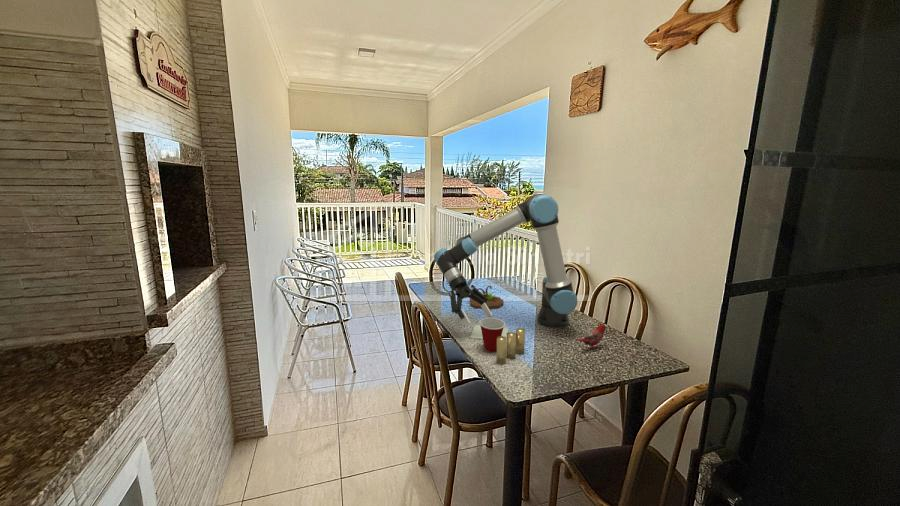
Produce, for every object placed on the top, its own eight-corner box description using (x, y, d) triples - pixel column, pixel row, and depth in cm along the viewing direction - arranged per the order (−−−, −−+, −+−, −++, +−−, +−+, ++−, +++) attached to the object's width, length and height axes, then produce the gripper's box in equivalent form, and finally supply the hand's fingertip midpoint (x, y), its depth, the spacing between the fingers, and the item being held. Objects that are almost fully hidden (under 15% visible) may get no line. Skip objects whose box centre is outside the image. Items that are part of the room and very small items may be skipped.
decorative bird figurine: (607, 346, 156) (609, 323, 154) (577, 355, 148) (578, 331, 146) (602, 343, 159) (603, 321, 157) (572, 352, 150) (573, 329, 149)
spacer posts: (526, 352, 150) (527, 329, 149) (501, 365, 140) (502, 340, 138) (519, 349, 153) (519, 327, 151) (494, 362, 143) (494, 337, 141)
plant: (505, 310, 203) (506, 290, 201) (470, 310, 204) (470, 290, 202) (501, 299, 223) (502, 281, 221) (469, 299, 223) (469, 281, 221)
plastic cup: (488, 357, 147) (488, 328, 145) (473, 347, 156) (474, 320, 154) (510, 351, 152) (510, 324, 149) (495, 342, 161) (495, 315, 159)
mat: (508, 328, 177) (508, 327, 177) (505, 341, 161) (505, 340, 161) (475, 325, 180) (475, 324, 180) (469, 338, 165) (469, 337, 165)
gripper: (471, 279, 175) (494, 317, 167) (430, 289, 158) (453, 332, 150) (479, 270, 170) (503, 309, 162) (438, 279, 153) (463, 323, 145)
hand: (479, 320), depth 156 cm, fingers open, 13 cm apart
